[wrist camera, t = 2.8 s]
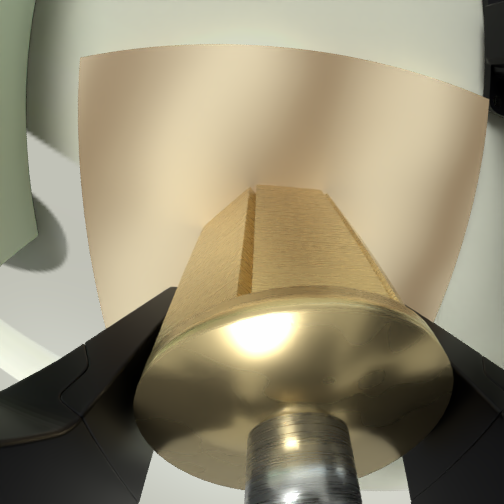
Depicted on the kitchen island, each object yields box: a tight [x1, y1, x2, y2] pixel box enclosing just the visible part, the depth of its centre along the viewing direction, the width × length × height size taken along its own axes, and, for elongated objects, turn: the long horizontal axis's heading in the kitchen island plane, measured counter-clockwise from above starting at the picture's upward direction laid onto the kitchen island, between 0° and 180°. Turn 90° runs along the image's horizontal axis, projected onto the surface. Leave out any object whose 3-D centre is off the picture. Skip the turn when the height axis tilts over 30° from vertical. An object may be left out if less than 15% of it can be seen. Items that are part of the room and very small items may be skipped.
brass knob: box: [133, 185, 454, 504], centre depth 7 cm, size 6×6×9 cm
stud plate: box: [78, 44, 489, 328], centre depth 10 cm, size 14×14×6 cm
